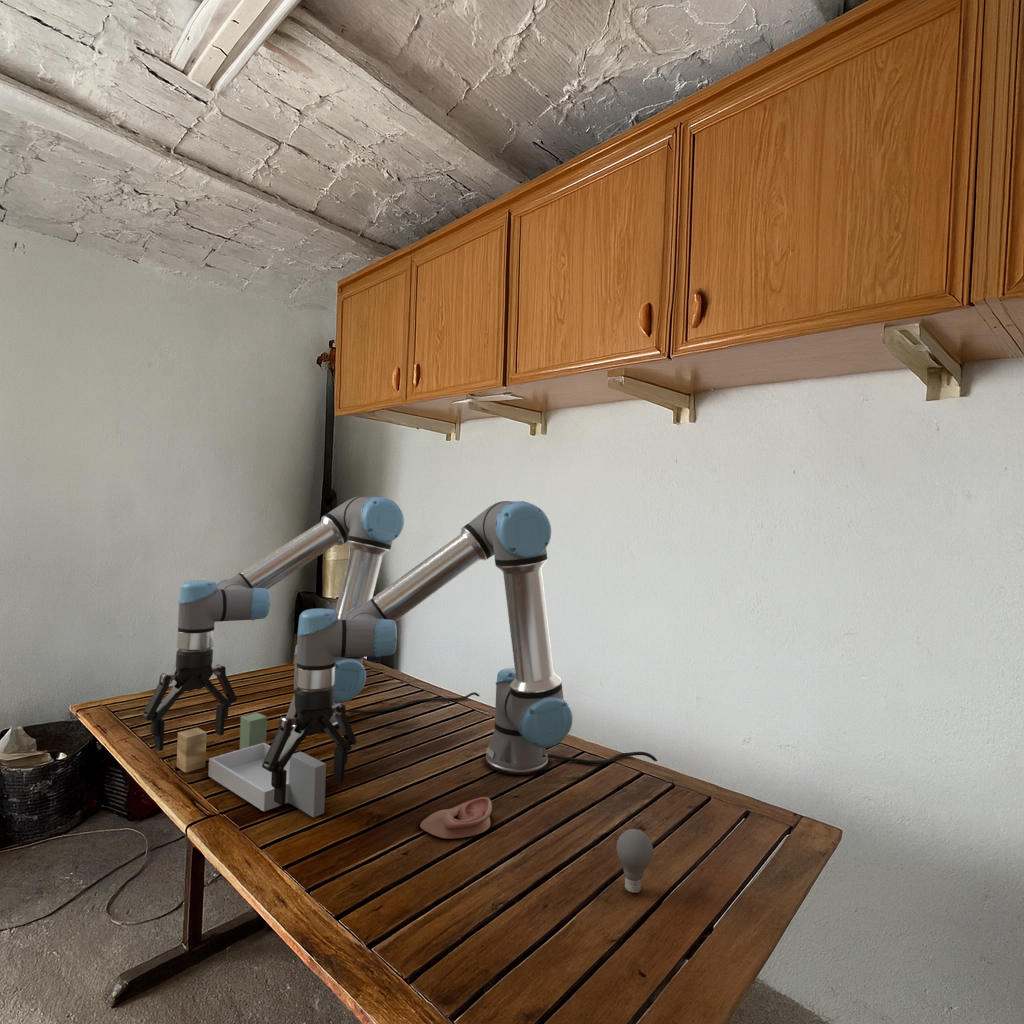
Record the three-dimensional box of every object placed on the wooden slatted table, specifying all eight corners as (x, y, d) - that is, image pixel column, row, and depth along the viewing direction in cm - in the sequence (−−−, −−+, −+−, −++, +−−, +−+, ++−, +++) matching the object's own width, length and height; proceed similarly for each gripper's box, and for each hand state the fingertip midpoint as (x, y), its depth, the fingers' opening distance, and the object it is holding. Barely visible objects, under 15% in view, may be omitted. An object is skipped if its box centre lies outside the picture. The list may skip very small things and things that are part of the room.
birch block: (196, 761, 148) (197, 727, 148) (205, 766, 146) (206, 732, 145) (176, 767, 145) (177, 732, 145) (185, 773, 142) (186, 737, 142)
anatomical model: (414, 813, 120) (434, 787, 131) (414, 834, 120) (433, 806, 131) (482, 823, 117) (496, 795, 129) (481, 844, 118) (495, 815, 129)
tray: (208, 776, 141) (209, 731, 141) (263, 759, 151) (264, 717, 151) (289, 828, 121) (291, 776, 121) (346, 804, 131) (348, 756, 131)
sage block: (256, 743, 160) (257, 712, 160) (266, 748, 157) (267, 716, 157) (239, 748, 157) (240, 716, 156) (248, 753, 154) (250, 721, 154)
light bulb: (610, 879, 108) (613, 822, 108) (644, 879, 109) (647, 822, 109) (619, 902, 102) (622, 840, 102) (655, 901, 103) (658, 840, 103)
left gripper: (239, 638, 157) (234, 724, 157) (128, 653, 137) (123, 750, 138) (255, 644, 152) (250, 732, 152) (143, 660, 133) (137, 761, 133)
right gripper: (354, 671, 139) (349, 767, 140) (246, 695, 120) (241, 806, 120) (376, 679, 135) (371, 777, 135) (267, 704, 115) (262, 820, 116)
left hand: (190, 741), depth 145 cm, fingers open, 13 cm apart
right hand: (310, 791), depth 128 cm, fingers open, 13 cm apart
